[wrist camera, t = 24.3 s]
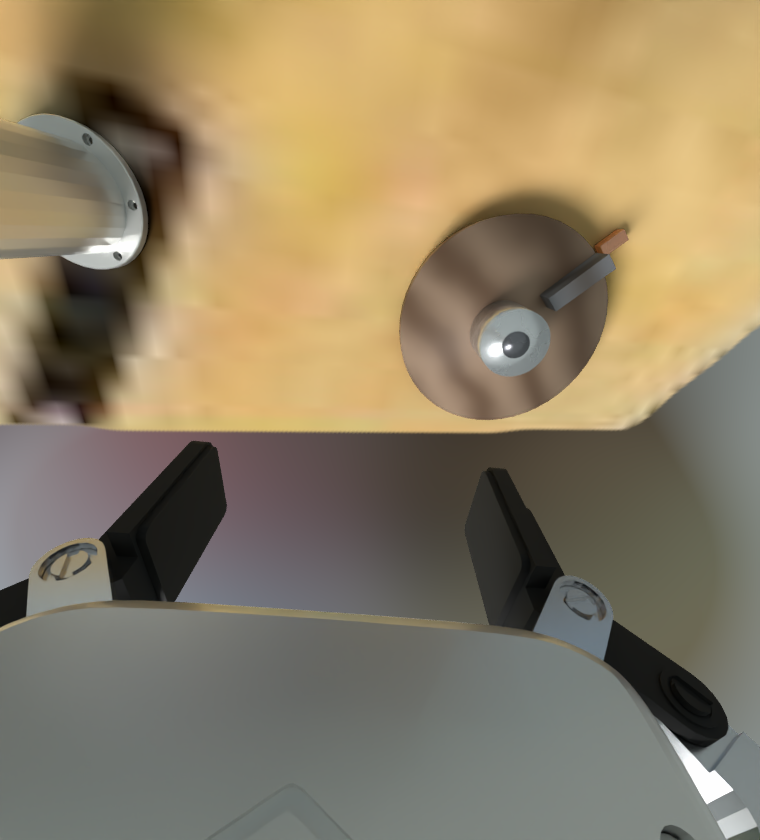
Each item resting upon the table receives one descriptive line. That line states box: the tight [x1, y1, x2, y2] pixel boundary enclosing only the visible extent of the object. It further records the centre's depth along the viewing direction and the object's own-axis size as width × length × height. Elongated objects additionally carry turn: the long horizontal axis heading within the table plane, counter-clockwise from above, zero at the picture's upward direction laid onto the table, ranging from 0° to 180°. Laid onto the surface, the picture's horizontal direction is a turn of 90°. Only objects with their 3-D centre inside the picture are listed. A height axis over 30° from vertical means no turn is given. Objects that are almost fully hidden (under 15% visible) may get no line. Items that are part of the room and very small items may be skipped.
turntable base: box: [594, 229, 629, 254], centre depth 37 cm, size 16×16×1 cm
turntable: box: [399, 214, 616, 420], centre depth 36 cm, size 22×22×4 cm
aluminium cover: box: [470, 300, 550, 377], centre depth 34 cm, size 6×6×5 cm
